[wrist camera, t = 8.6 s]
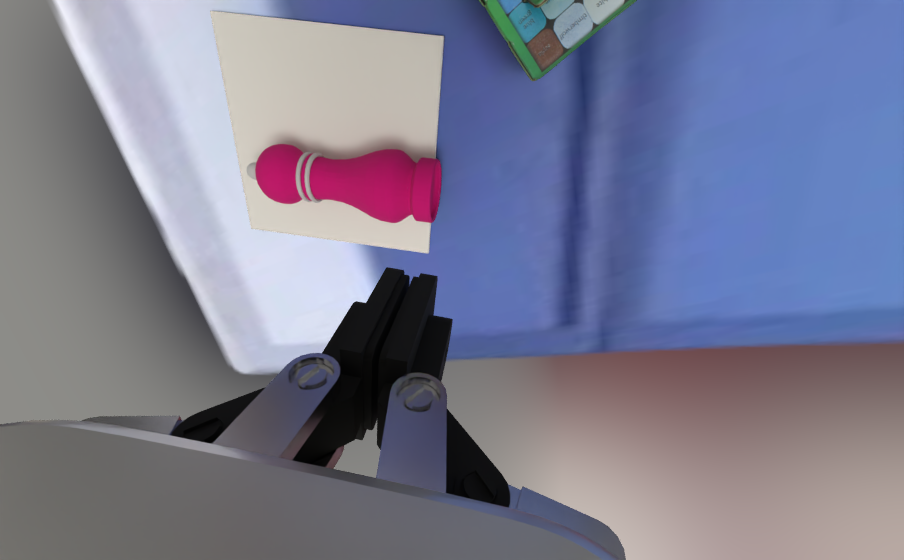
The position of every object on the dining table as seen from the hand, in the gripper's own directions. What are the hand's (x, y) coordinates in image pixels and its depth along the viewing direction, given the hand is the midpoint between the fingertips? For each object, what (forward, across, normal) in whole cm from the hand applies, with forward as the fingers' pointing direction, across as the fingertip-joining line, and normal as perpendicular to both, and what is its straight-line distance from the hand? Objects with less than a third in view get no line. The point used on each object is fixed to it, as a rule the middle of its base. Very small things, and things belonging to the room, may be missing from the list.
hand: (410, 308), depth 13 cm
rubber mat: (+30, +15, +4) cm, 34 cm away
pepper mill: (+27, +3, +6) cm, 27 cm away
